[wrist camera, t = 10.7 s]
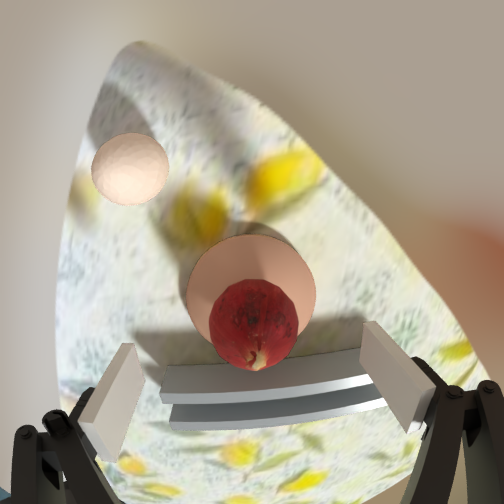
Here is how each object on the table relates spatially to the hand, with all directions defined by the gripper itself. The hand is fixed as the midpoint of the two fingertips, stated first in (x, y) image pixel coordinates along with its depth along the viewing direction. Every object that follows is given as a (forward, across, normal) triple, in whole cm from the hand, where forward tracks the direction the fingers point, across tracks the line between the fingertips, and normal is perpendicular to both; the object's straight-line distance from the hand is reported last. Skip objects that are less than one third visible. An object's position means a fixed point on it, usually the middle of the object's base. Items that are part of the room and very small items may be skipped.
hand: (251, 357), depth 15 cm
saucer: (+8, 0, 0) cm, 8 cm away
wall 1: (+8, +2, -10) cm, 13 cm away
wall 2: (+8, +2, -7) cm, 11 cm away
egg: (+8, -6, +11) cm, 15 cm away
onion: (+7, 0, 0) cm, 7 cm away
